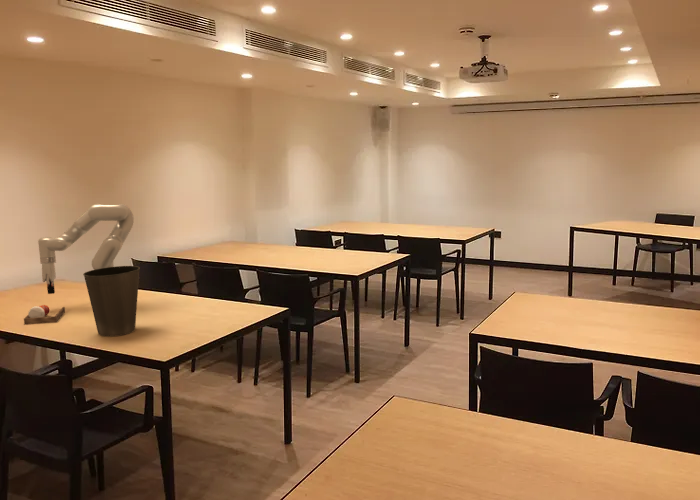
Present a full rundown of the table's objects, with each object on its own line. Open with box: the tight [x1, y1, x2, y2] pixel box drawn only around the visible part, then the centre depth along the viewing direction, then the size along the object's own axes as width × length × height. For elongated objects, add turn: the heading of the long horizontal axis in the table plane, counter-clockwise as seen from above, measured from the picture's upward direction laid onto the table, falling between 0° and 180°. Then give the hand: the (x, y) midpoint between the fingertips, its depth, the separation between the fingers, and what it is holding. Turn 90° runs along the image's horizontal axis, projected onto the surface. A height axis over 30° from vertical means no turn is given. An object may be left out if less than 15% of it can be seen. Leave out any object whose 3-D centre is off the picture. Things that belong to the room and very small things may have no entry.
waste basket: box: [83, 265, 141, 337], centre depth 286 cm, size 27×20×30 cm
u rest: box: [23, 306, 66, 325], centre depth 314 cm, size 15×21×3 cm
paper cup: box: [27, 304, 51, 318], centre depth 313 cm, size 8×8×14 cm
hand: (51, 293), depth 326 cm, fingers closed
